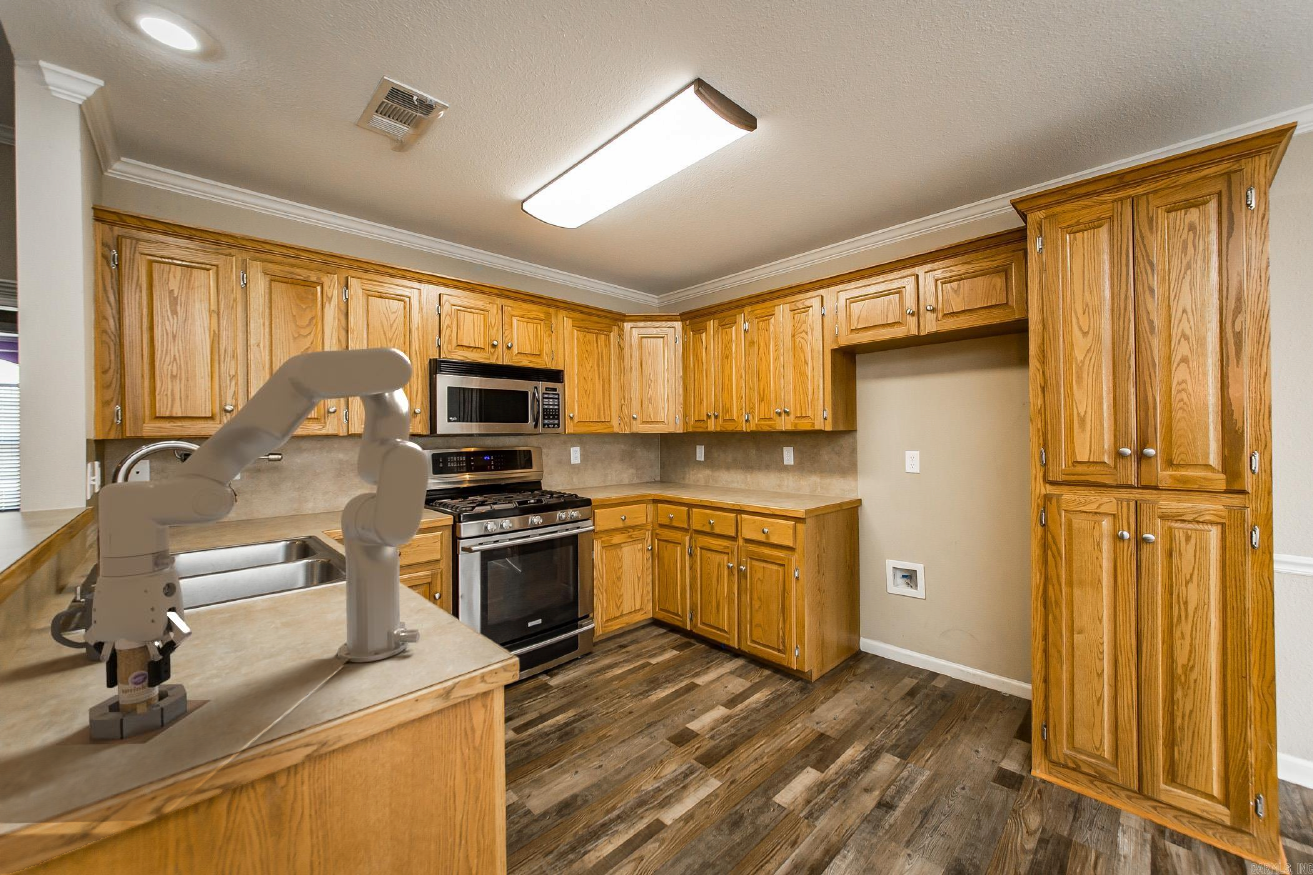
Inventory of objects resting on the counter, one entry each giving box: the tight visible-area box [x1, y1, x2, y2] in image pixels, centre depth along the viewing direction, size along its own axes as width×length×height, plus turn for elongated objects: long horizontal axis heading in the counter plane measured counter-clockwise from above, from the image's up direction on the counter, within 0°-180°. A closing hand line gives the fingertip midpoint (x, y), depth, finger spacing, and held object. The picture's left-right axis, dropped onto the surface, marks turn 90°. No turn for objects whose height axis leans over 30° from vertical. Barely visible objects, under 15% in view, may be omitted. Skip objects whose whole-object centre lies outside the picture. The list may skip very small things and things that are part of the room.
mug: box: [50, 591, 102, 661], centre depth 108 cm, size 14×9×12 cm
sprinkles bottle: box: [115, 639, 158, 712], centre depth 83 cm, size 5×5×14 cm
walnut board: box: [56, 699, 212, 746], centre depth 83 cm, size 12×12×1 cm
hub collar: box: [88, 683, 188, 741], centre depth 83 cm, size 10×10×4 cm
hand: (139, 682), depth 83 cm, fingers open, 5 cm apart
